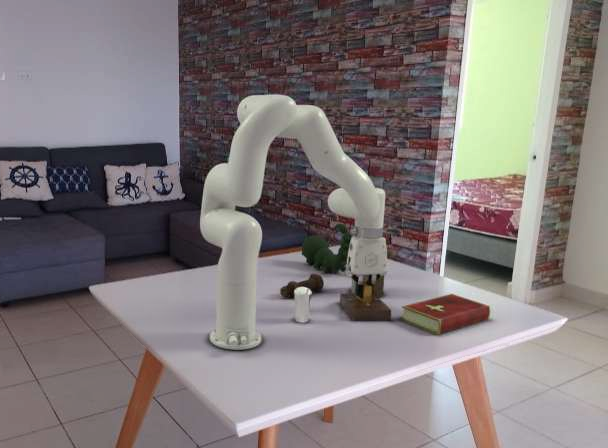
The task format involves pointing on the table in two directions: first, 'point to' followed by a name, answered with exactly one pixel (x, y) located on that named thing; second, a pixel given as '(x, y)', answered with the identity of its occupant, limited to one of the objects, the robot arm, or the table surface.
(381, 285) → the pillar candle
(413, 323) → the hardcover book
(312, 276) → the bolt
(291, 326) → the table surface
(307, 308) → the milkshake
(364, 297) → the thumbturn
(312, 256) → the toy figurine
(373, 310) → the lock plate
